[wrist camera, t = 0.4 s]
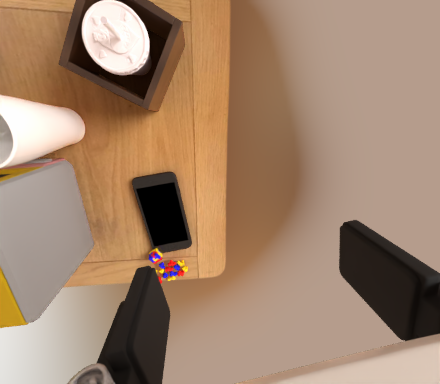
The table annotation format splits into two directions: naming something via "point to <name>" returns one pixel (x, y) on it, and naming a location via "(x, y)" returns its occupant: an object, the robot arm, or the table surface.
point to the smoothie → (116, 38)
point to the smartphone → (162, 211)
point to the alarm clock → (38, 236)
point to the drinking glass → (35, 130)
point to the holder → (152, 19)
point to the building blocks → (157, 256)
